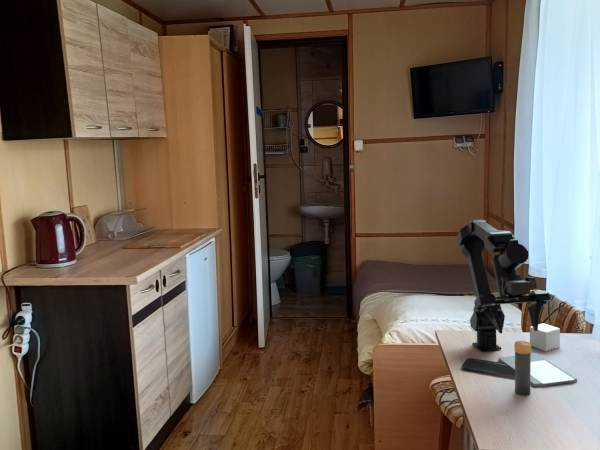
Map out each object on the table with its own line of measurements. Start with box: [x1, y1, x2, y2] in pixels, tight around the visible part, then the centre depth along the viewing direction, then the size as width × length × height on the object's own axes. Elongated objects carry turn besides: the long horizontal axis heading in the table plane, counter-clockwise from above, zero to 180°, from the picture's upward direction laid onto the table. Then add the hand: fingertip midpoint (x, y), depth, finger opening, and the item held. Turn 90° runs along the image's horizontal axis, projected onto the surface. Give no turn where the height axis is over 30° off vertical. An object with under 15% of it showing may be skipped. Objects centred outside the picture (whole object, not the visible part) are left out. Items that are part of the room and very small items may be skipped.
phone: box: [461, 357, 515, 380], centre depth 148 cm, size 8×1×15 cm
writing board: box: [498, 352, 578, 388], centre depth 146 cm, size 18×12×1 cm, turn 8°
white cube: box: [529, 322, 561, 352], centre depth 162 cm, size 6×6×6 cm
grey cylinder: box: [514, 340, 532, 397], centre depth 133 cm, size 4×4×13 cm
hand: (518, 332), depth 139 cm, fingers open, 9 cm apart
